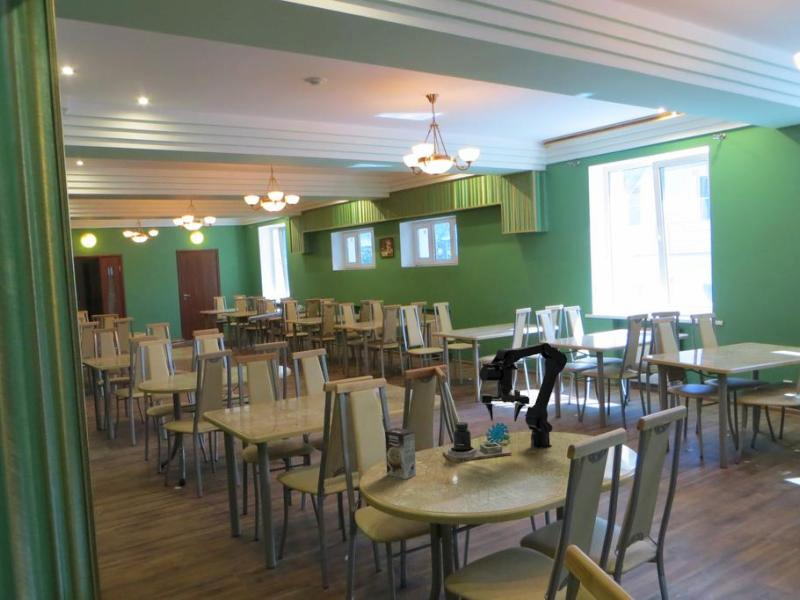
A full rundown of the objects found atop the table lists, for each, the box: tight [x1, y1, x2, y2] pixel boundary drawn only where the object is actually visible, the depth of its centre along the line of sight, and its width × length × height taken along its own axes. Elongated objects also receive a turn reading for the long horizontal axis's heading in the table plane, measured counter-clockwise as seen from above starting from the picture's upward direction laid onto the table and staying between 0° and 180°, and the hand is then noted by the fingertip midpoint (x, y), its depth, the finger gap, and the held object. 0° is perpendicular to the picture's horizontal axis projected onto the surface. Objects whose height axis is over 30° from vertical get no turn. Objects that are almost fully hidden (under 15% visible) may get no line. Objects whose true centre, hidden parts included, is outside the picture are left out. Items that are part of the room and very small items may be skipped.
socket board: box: [442, 441, 512, 463], centre depth 260 cm, size 24×12×3 cm, turn 105°
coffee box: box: [384, 427, 417, 480], centre depth 238 cm, size 9×6×16 cm
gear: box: [485, 422, 511, 444], centre depth 278 cm, size 11×6×10 cm
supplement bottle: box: [452, 421, 472, 452], centre depth 258 cm, size 7×7×12 cm
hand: (503, 421), depth 259 cm, fingers open, 9 cm apart
